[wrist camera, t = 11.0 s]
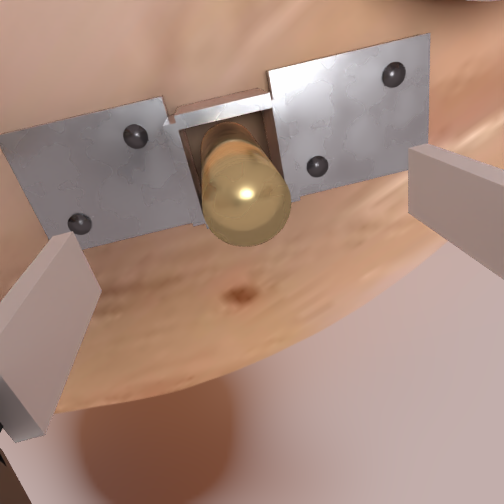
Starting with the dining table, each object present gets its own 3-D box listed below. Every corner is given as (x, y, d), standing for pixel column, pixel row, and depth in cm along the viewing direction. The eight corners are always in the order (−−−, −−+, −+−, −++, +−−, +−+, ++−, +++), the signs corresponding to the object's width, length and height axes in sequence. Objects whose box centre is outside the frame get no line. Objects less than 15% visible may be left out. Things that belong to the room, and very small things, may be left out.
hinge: (61, 249, 29) (37, 283, 24) (2, 133, 25) (-41, 148, 20) (420, 162, 29) (459, 179, 25) (422, 33, 25) (469, 27, 21)
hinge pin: (208, 182, 28) (214, 255, 17) (194, 128, 26) (191, 174, 16) (260, 170, 28) (297, 235, 18) (249, 115, 26) (283, 152, 16)
